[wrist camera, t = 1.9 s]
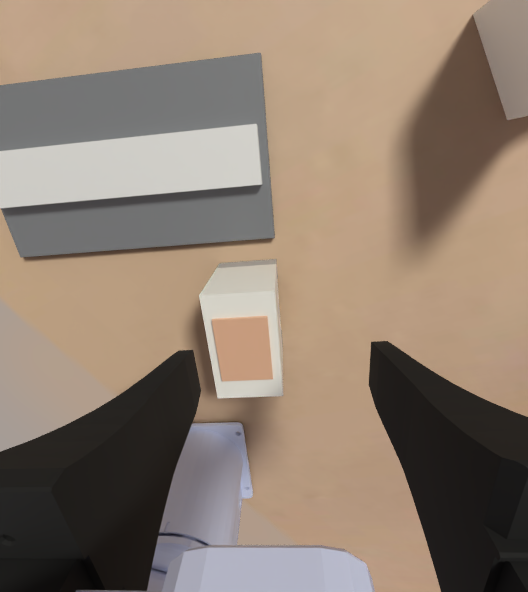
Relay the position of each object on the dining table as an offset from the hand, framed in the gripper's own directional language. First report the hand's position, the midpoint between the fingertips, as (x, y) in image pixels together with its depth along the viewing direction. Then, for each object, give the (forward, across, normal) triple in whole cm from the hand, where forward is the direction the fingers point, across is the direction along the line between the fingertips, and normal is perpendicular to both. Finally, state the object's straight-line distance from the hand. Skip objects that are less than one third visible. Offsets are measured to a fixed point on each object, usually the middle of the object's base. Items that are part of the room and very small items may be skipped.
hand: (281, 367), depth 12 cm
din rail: (+10, +9, -8) cm, 16 cm away
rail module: (+10, +2, +2) cm, 11 cm away
